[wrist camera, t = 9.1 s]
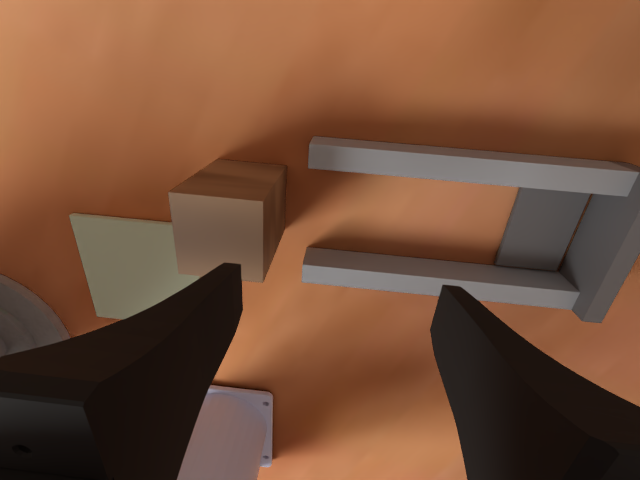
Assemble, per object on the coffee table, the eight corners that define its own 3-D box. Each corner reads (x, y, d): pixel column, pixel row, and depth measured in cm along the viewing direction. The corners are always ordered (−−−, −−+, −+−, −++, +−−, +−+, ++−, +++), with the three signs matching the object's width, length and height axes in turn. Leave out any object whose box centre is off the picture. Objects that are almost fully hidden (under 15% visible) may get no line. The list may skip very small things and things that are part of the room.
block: (284, 229, 21) (263, 282, 16) (221, 222, 21) (178, 273, 16) (286, 165, 20) (263, 201, 14) (217, 158, 20) (167, 192, 14)
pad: (206, 324, 25) (204, 328, 25) (100, 313, 25) (97, 316, 25) (196, 224, 22) (194, 227, 21) (73, 212, 22) (68, 215, 22)
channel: (567, 289, 22) (600, 323, 19) (306, 263, 22) (299, 292, 19) (627, 162, 18) (679, 180, 15) (313, 135, 19) (306, 147, 16)
